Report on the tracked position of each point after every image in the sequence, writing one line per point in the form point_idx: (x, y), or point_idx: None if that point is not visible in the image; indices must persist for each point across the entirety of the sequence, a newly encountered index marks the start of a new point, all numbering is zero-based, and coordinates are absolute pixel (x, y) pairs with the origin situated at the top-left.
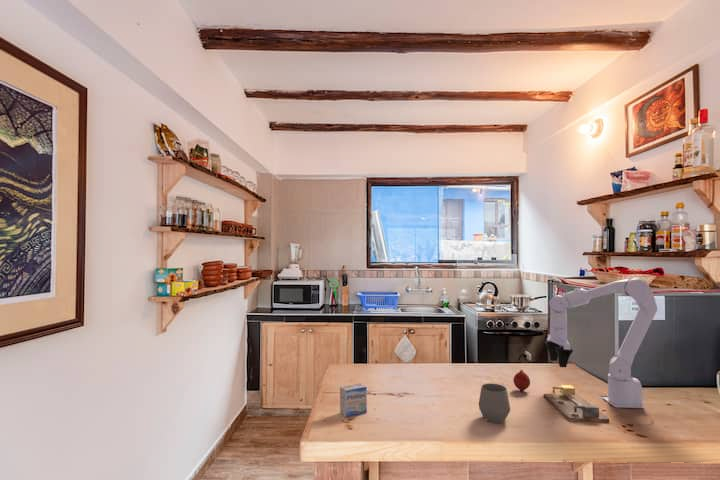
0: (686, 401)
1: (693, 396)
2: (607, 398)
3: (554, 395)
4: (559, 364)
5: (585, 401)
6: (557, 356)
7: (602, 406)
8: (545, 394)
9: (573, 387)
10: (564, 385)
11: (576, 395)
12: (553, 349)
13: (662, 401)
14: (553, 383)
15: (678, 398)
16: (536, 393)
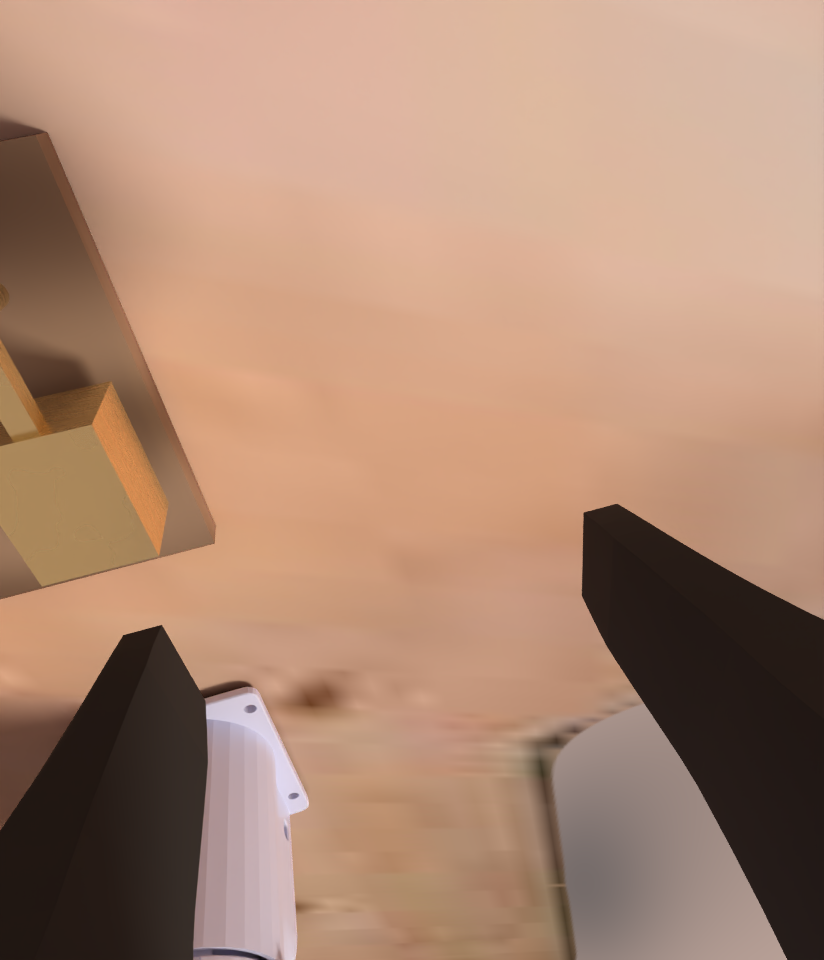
0: (366, 942)
1: (446, 952)
2: (234, 716)
3: (35, 293)
4: (118, 666)
5: (4, 586)
6: (630, 675)
7: (46, 670)
8: (9, 161)
9: (70, 574)
10: (105, 484)
11: (170, 531)
12: (758, 775)
13: (332, 891)
14: (593, 361)
15: (402, 925)
16: (145, 37)
